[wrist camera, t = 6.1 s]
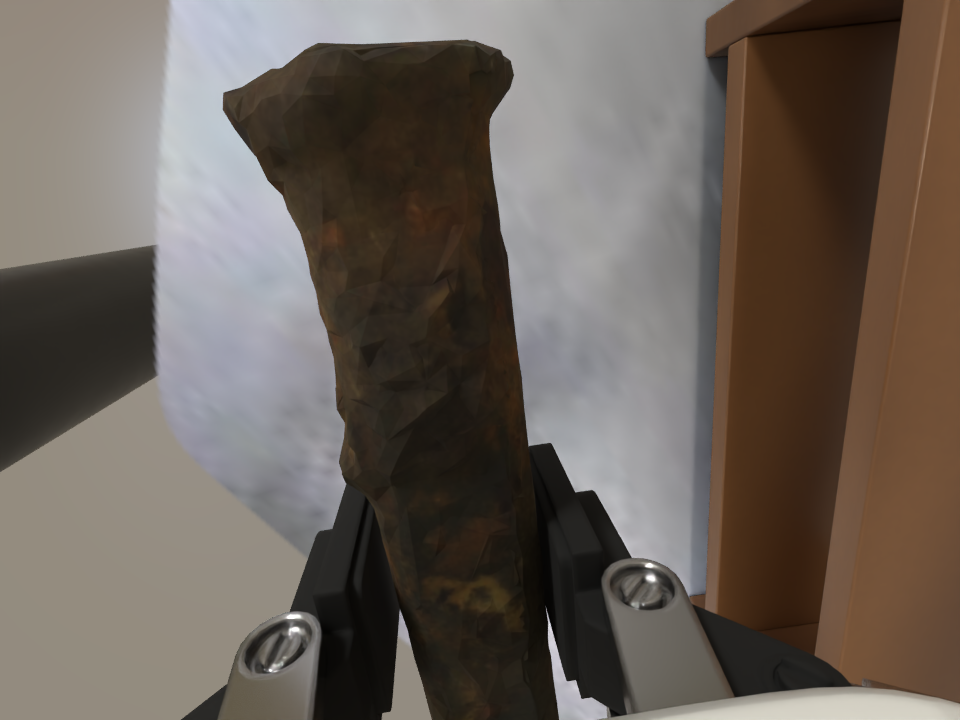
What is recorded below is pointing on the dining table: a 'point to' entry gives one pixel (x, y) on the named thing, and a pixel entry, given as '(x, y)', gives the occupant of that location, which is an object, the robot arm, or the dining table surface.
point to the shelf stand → (840, 336)
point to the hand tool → (420, 344)
